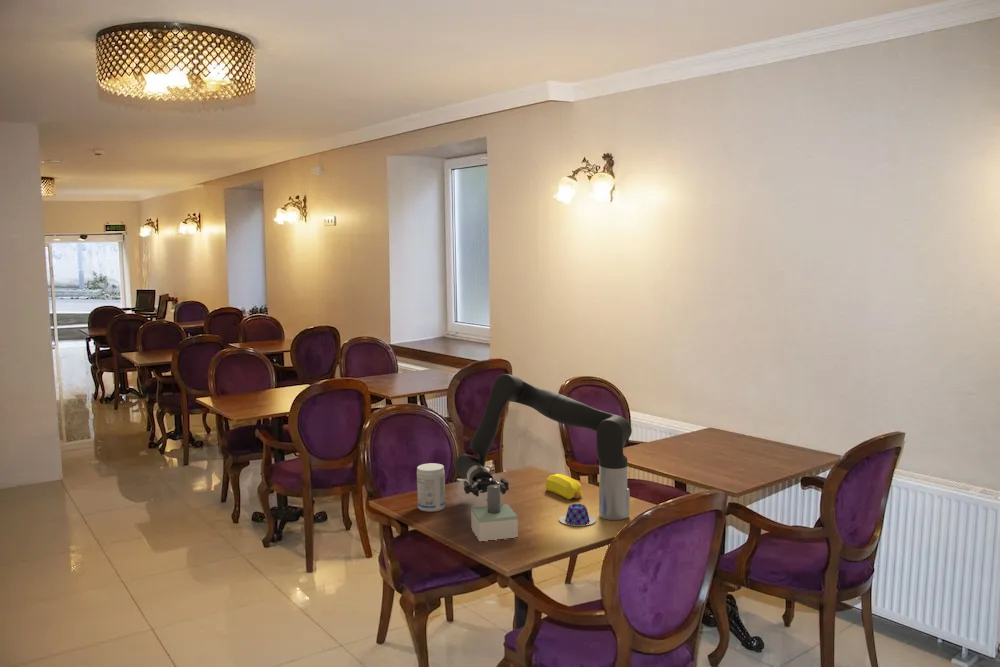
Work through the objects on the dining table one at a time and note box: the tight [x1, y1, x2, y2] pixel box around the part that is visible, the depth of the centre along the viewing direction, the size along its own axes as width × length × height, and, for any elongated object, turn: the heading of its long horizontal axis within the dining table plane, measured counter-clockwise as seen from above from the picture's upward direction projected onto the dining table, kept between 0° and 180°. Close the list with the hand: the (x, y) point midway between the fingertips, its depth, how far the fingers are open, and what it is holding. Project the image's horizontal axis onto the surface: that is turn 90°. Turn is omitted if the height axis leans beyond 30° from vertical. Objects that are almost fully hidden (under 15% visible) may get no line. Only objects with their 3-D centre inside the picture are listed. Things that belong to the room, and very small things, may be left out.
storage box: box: [470, 510, 519, 542], centre depth 240 cm, size 12×12×6 cm
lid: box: [470, 485, 519, 523], centre depth 239 cm, size 12×12×10 cm
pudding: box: [558, 503, 597, 527], centre depth 251 cm, size 12×12×5 cm
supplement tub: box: [416, 462, 446, 513], centre depth 265 cm, size 10×10×15 cm
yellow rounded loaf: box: [545, 472, 583, 500], centre depth 280 cm, size 18×7×8 cm
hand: (490, 492), depth 243 cm, fingers open, 8 cm apart
